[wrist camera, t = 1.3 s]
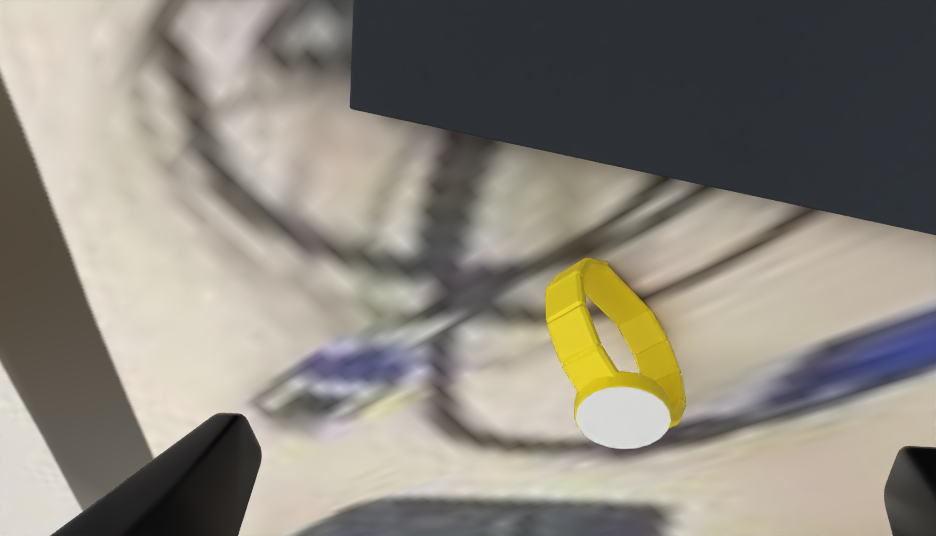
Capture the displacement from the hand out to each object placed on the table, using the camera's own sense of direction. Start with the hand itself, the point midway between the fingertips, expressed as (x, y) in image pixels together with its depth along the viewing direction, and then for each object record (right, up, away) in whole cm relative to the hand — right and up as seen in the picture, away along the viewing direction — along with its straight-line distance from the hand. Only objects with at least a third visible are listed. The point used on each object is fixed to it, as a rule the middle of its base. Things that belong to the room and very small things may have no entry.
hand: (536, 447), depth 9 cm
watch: (+5, +2, +14) cm, 15 cm away
